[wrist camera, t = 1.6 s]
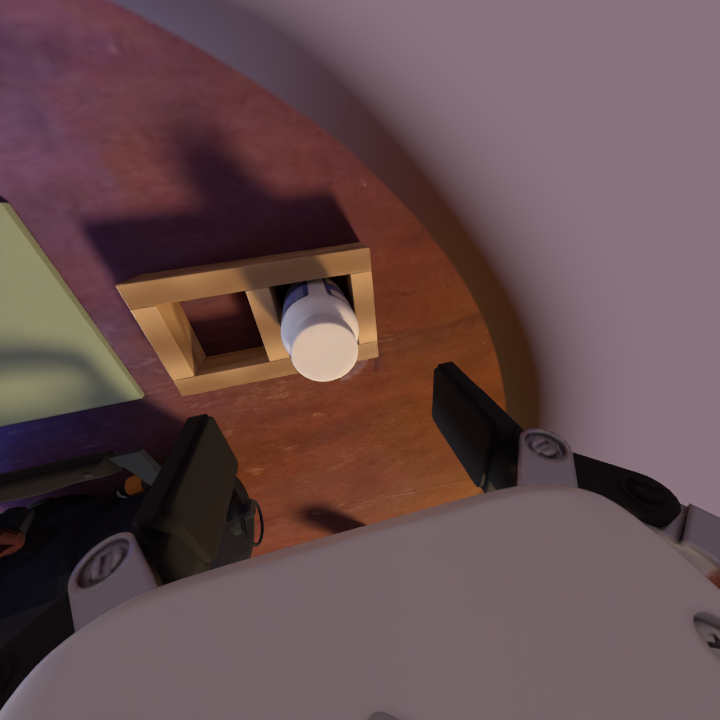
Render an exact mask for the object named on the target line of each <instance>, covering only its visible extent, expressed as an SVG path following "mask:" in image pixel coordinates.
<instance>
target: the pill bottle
mask: <svg viewBox="0 0 720 720" xmlns="http://www.w3.org/2000/svg"><path fill="white" fill-rule="evenodd" d="M358 336H359V325H358V321H357V318H356V316H355V313H354V311H353V310H352V308H351V306H350V304H349V303H348V301H347V299H346V297H345V295H344V294H343V292H342V290H341V289H340V288H339V286H338V285H337V284H336V283H335V282H333V281H332V280H330V279H328V278H321V279H315V280H308V281H302V282H296V283H293V284H292V285H291V286H290V287H289V289H288V290H287V292H286V295H285V298H284V305H283V313H282V321H281V338H282V342H283V345H284V347H285V349H286V351H287V352H288V353H289V354H290V355H291V360H292V363H293V365H294V366H295V368H296V369H297V370H298V371H299V373H301V374H302V375H303V376H305V377H307V378H309V379H311V380H315V381H331V380H335V379H337V378H340V377H342V376H343V375H345V374H346V373H347V372H348V371H350V369H351V368H352V367H353V366H354V364H355V362H356V360H357V357H358V344H357V341H358Z"/></svg>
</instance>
